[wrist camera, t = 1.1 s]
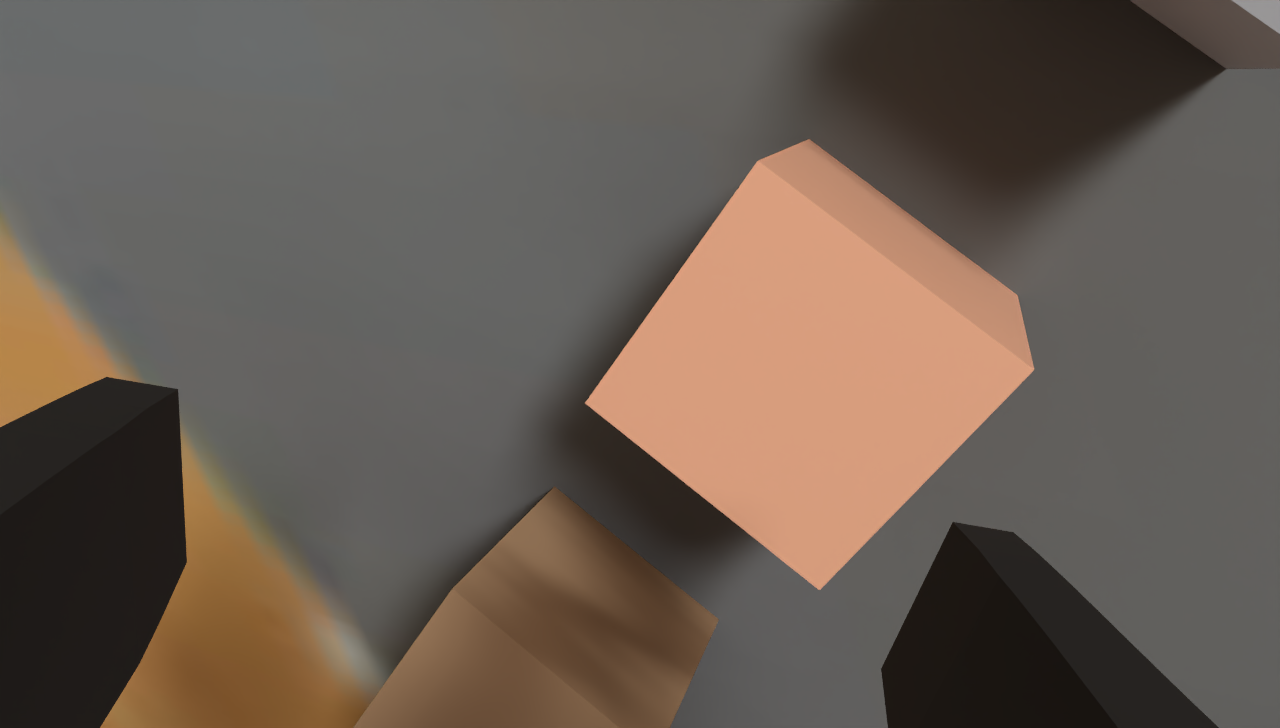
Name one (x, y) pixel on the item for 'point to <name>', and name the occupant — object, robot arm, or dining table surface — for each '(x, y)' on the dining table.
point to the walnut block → (551, 637)
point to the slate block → (1224, 28)
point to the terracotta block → (815, 360)
